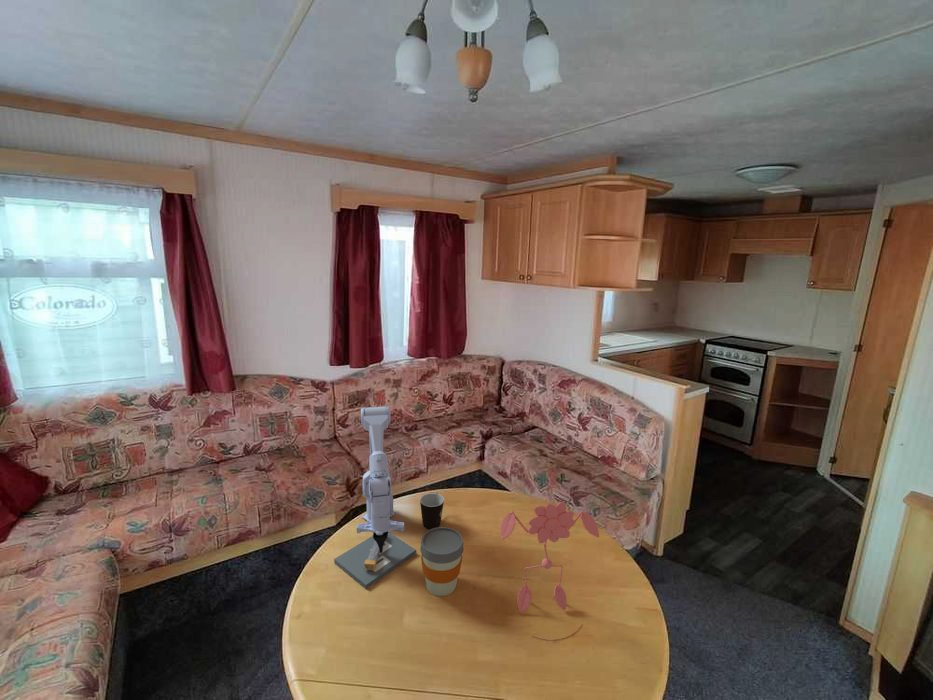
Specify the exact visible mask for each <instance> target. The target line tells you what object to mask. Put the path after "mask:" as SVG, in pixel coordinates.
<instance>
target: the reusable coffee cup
mask: <svg viewBox="0 0 933 700" xmlns="http://www.w3.org/2000/svg"><path fill="white" fill-rule="evenodd" d="M464 548H465V547H464V540H463V536H462V534H461V533H460V532H459V531H458V530H456V529H454V528H452V527H449V526H447V527H446V526H440V527H437V528H433V529H431V530H427V531H426V532H425V533H424V534H423V535H422V538H421V542H420V554H421V556H420V559H421V567H422V574H423V576H424V579H425V586H426V589H427V591H428V592H429V593H431V594H432V595H434V596H440V597H444V596H448V595H450V594H452V593H453V592H454V591H455V590H456V588H457V582H458V576H459V575H460V573H461V567H462V562H463V553H464Z"/></svg>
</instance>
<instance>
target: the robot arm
mask: <svg viewBox="0 0 933 700" xmlns="http://www.w3.org/2000/svg"><path fill="white" fill-rule="evenodd" d="M390 423H391V408H390V407H389V406H388V405H387V406H374V407H373V406H372V407H361V409H360V425H361V427H362V428H363V429H364V430H365V431H367V432H368V433H369V436H368V437H369V458H368V461H369V462H368V464H369V467H368V468H369V470H367V471H366V472H364V473H363V475H362V496H363V497H364V498H366V513H364V514H363V515H361V518H363V520H366V521H367V522H364V523H357V524H356V534H360V533H362V532H363V533H364V532H365V533H367V532H368V533H369V532H370V533H372V536H373V538H374V540H375V541H376V543H377V544H378V547H379V550H380V553H382V551H383V545H384V542H385V540H386V539H387V536H388V532H392V531H400V532H404V531H405V522H403V521H395V520H390V518H391V517H393V516H395V514H396V513H395V512H394V496H393V494H392V478H391V476H390V471H389V463H388V462H389V461H388V455H387V454H386V452H384V435H385V434H384V433H385V432H384V431H385V430H386V429H388V428H389V425H390Z"/></svg>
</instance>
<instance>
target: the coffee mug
mask: <svg viewBox="0 0 933 700" xmlns="http://www.w3.org/2000/svg"><path fill="white" fill-rule="evenodd" d="M419 502H420V503H419V504H420V512H421V519H422V520H421V522H422V526H423V528H424V529H426V530H427V531H429V530H431V529H433V528H437V527H441V523H442V517H443V508H444V502H445V498H444V496H443V495H441V494H439V492H436V493H435V492H430V493H429V492H428V493H426V494H423V495H422V496H421V497H420V498H419Z"/></svg>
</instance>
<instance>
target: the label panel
mask: <svg viewBox="0 0 933 700" xmlns="http://www.w3.org/2000/svg"><path fill="white" fill-rule="evenodd" d="M374 542H375V540H374V538H373V535H371V536H370V537H368V538H366V539H364V541H362V542H360V543H359V544H357V545H355V546H353V547H351V548H350V549H348V550H347V551H345V552H343V553H342V554H340V555H338V556H337V557H335V558H333V561H334V565H336V566H337V567H338V568H340V569H341V570H342V571H343V572H344V573H346V574H347V575H348V576H349V577H350V578H351V579H353V580H354V581H355V582H356V583H357V584H359V585H360V586H361V587H362V588H364V589H365V590H367V589H368V588H370V587H371V586H373V585H375V584H376V583H377V582H379V581H380V580H381V579H383V578H384V577H385V576H387V575H388V574H389V573H391V572H392V571H394V570H396V569H397V568H398V567H400V566H401V565H403V564H404V563H405V562H406V561H408V560H409V559H411V558H412V557H413V556H415V555H417V549H415V548H414V547H413V546H411V545H410V544H408V543H406V542H405V541H404V540H402V539H400V538H399V537H397V536H396V535H395V534H393V533H391V531H388V536H387V539H386V540H385V542H384V545H383V551H382V553H379V556H378V559H377V561H376V568H375V570H368V569H364V563H365V560H367V559H368V556H369V554H370V551H371V549H372V547H373V544H374Z"/></svg>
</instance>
